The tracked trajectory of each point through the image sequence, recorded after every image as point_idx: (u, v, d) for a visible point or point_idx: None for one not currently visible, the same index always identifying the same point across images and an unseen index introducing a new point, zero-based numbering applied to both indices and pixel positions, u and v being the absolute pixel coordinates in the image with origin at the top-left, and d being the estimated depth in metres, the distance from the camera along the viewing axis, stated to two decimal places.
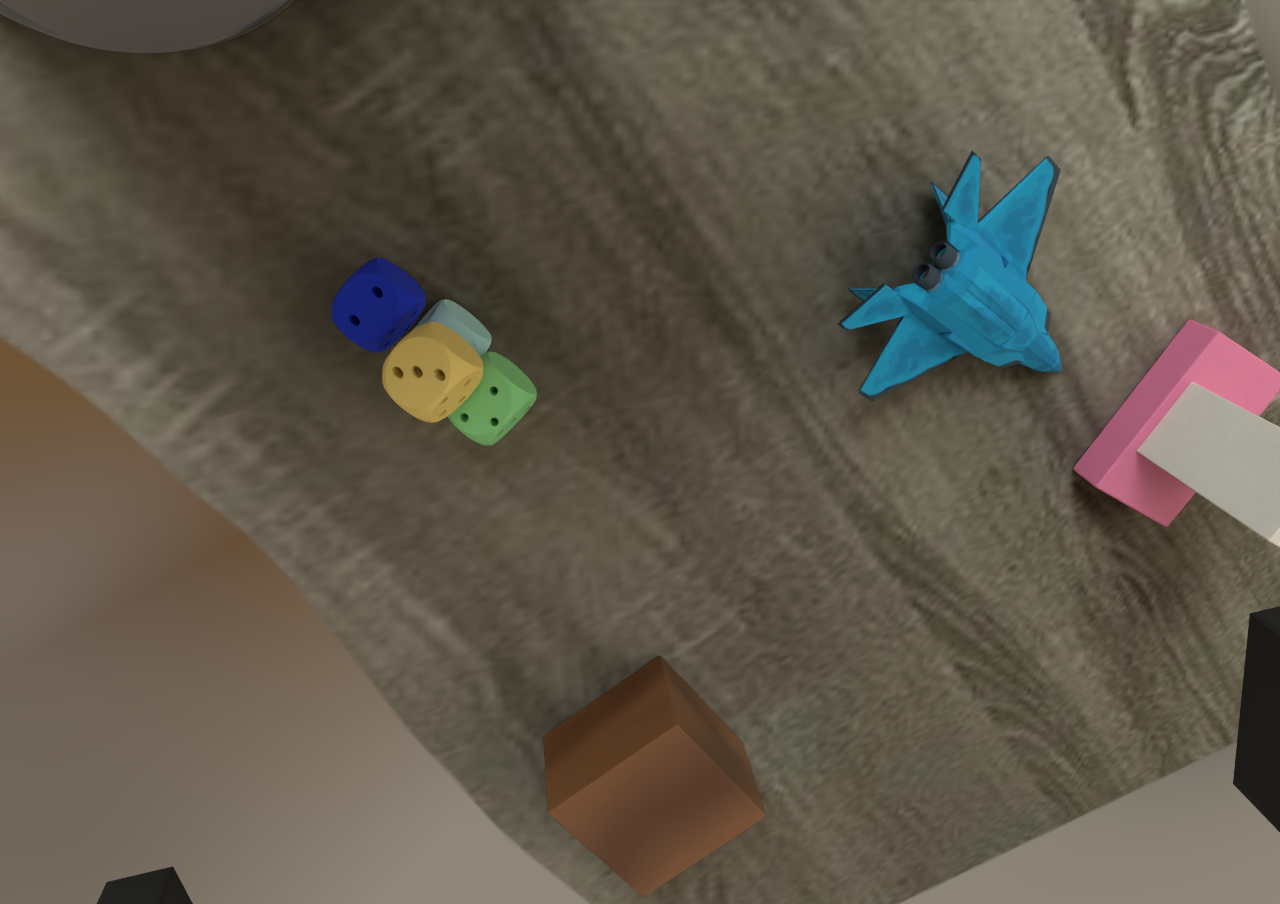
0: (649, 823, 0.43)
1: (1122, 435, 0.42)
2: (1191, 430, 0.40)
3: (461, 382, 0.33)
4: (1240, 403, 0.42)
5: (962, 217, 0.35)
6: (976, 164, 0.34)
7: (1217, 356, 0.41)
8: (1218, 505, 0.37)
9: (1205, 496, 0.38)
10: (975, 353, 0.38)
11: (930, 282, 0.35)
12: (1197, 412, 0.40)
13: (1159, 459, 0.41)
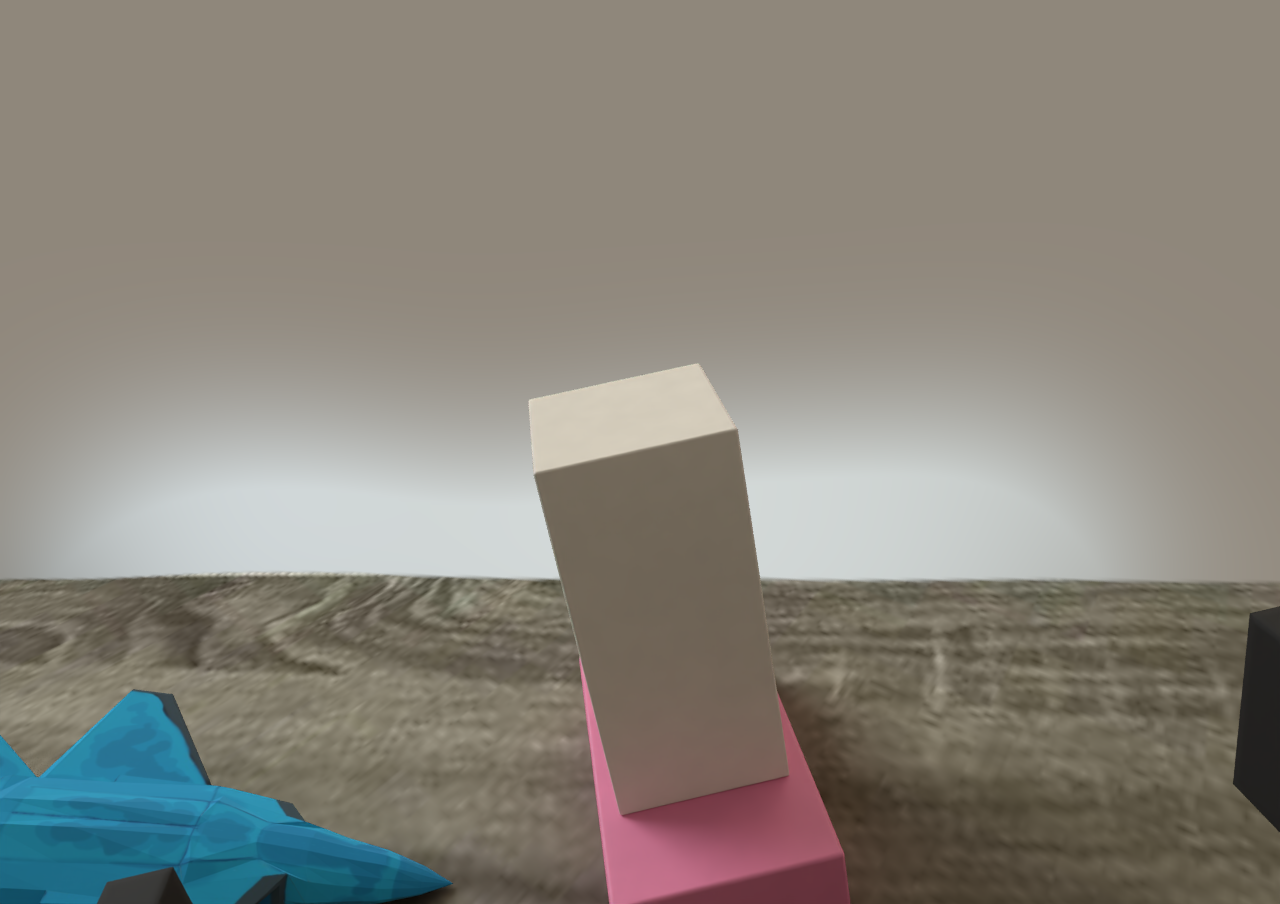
0: None
1: None
2: None
3: None
4: None
5: None
6: None
7: None
8: (566, 602, 0.18)
9: (575, 636, 0.18)
10: None
11: None
12: None
13: None
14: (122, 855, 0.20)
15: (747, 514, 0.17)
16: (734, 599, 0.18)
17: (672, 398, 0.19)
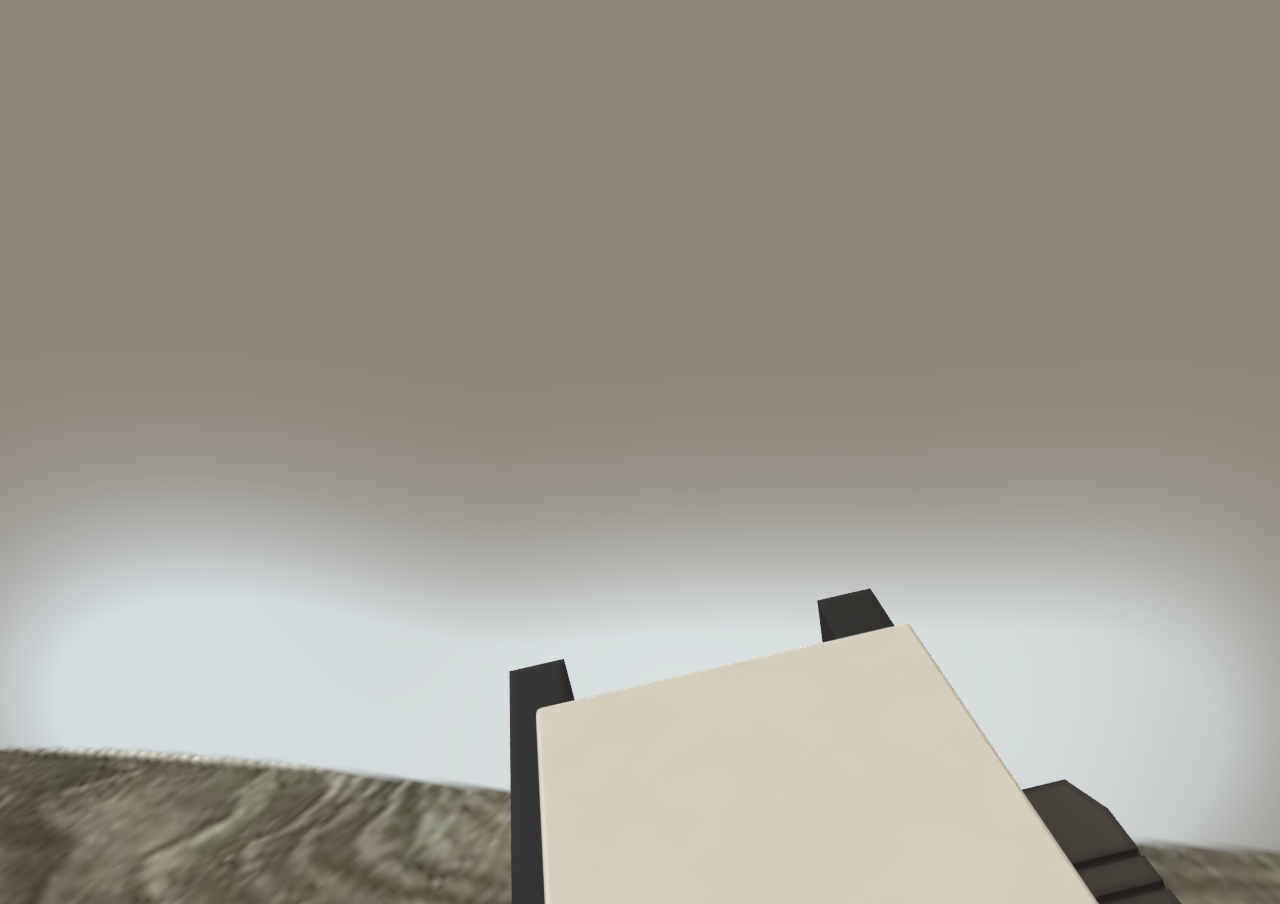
0: None
1: None
2: None
3: None
4: None
5: None
6: None
7: None
8: None
9: None
10: None
11: None
12: None
13: None
14: None
15: None
16: None
17: (884, 760, 0.08)
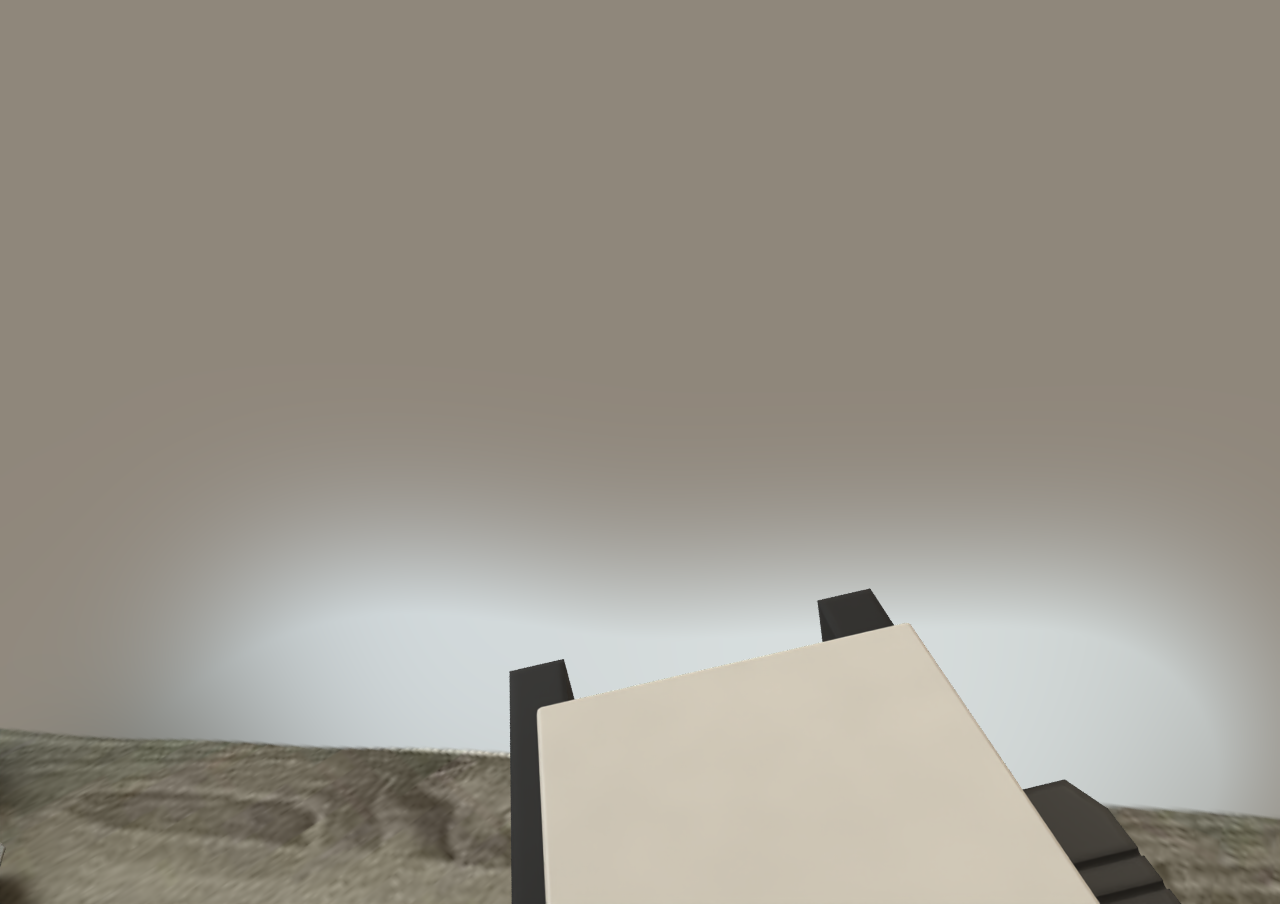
0: None
1: None
2: None
3: None
4: None
5: None
6: None
7: None
8: None
9: None
10: None
11: None
12: None
13: None
14: None
15: None
16: None
17: (885, 760, 0.08)
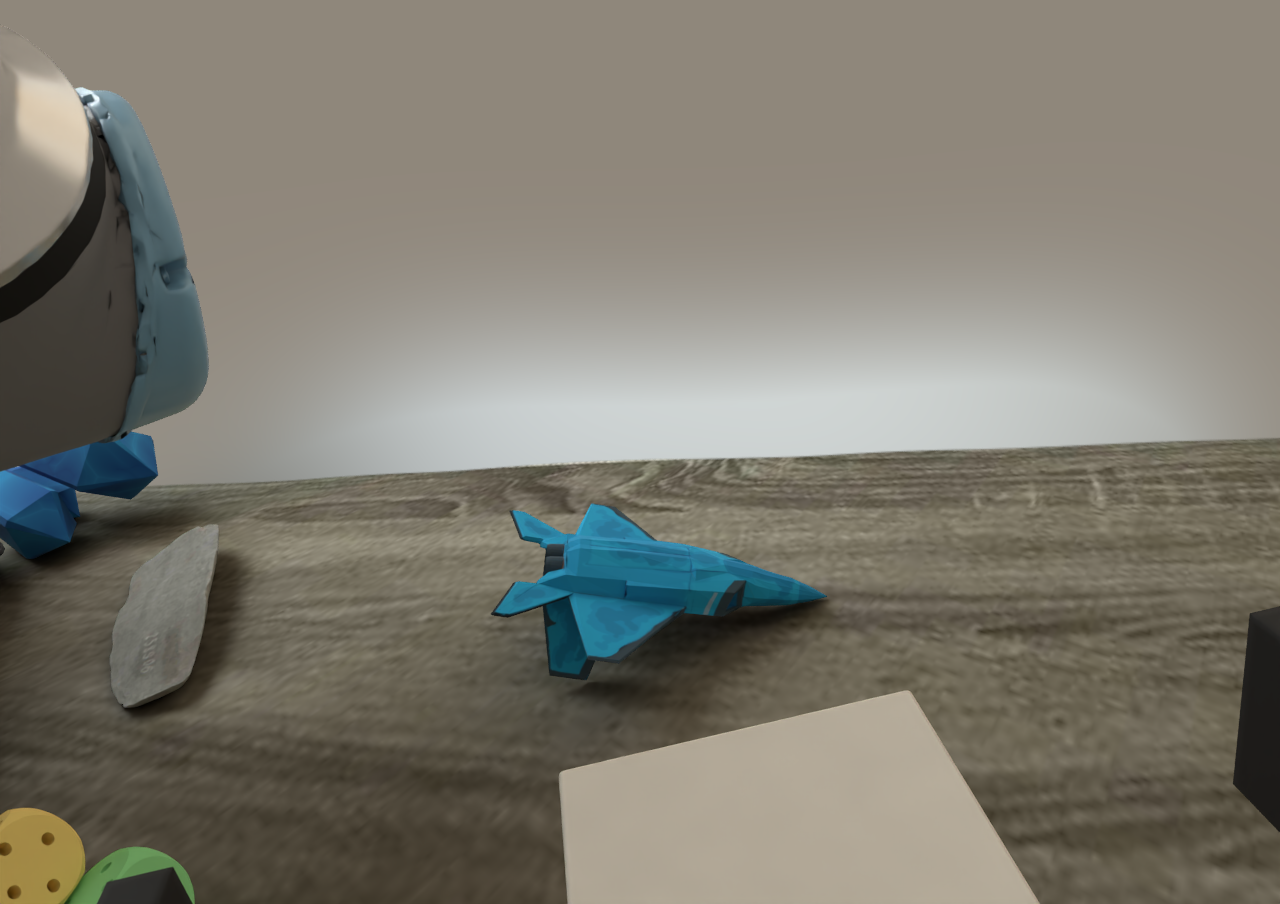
0: None
1: None
2: None
3: (30, 824, 0.24)
4: None
5: (547, 536, 0.38)
6: (522, 513, 0.39)
7: None
8: None
9: None
10: (678, 587, 0.35)
11: (554, 560, 0.35)
12: None
13: None
14: (659, 566, 0.35)
15: None
16: None
17: (888, 831, 0.08)
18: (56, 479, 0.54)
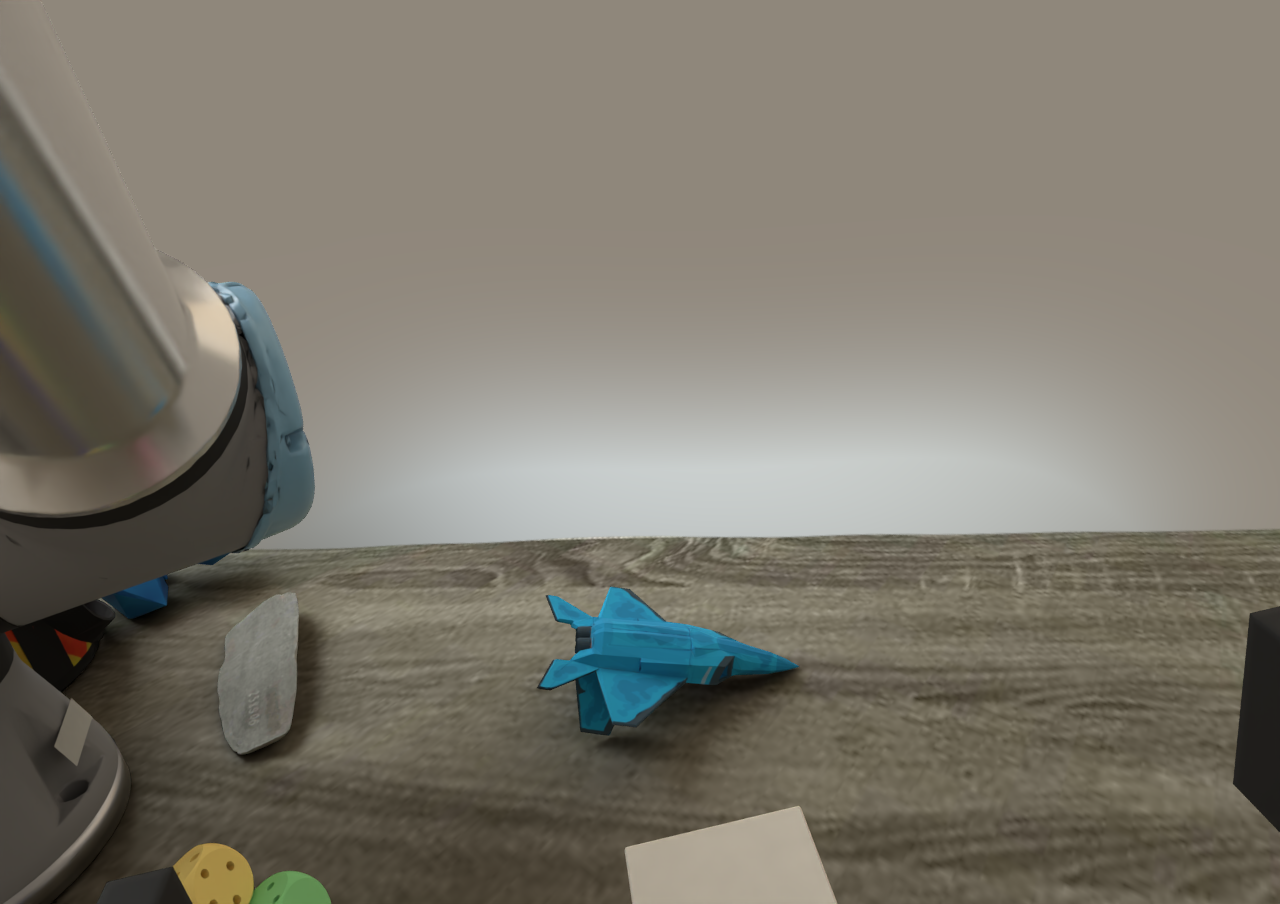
0: None
1: None
2: None
3: (218, 855, 0.34)
4: None
5: (576, 618, 0.47)
6: (556, 598, 0.49)
7: None
8: None
9: None
10: (681, 663, 0.44)
11: (584, 641, 0.45)
12: None
13: None
14: (666, 645, 0.45)
15: None
16: None
17: (780, 880, 0.18)
18: None
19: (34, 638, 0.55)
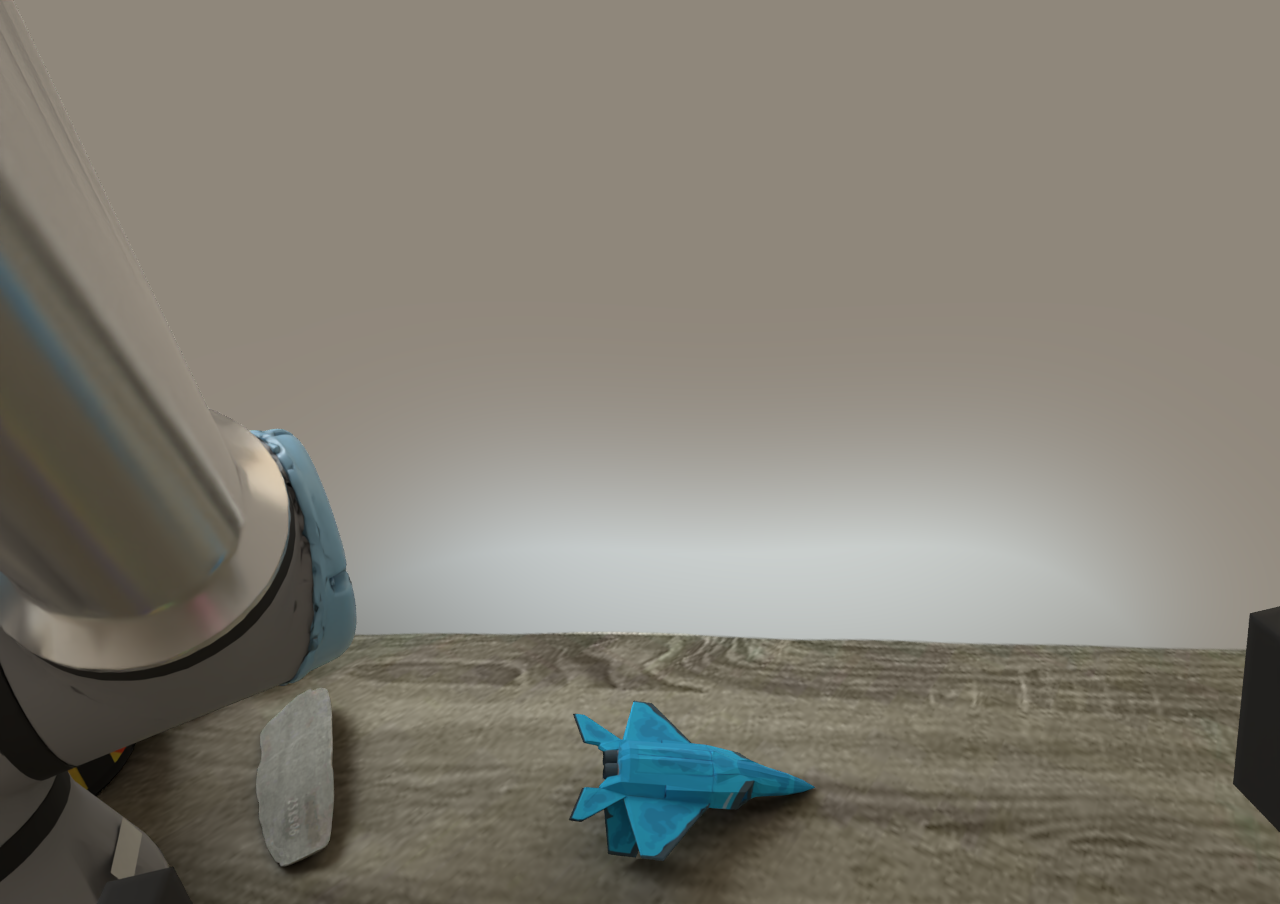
0: None
1: None
2: None
3: None
4: None
5: (603, 739, 0.50)
6: (582, 716, 0.51)
7: None
8: None
9: None
10: (704, 790, 0.47)
11: (611, 767, 0.47)
12: None
13: None
14: (689, 771, 0.47)
15: None
16: None
17: None
18: None
19: None
